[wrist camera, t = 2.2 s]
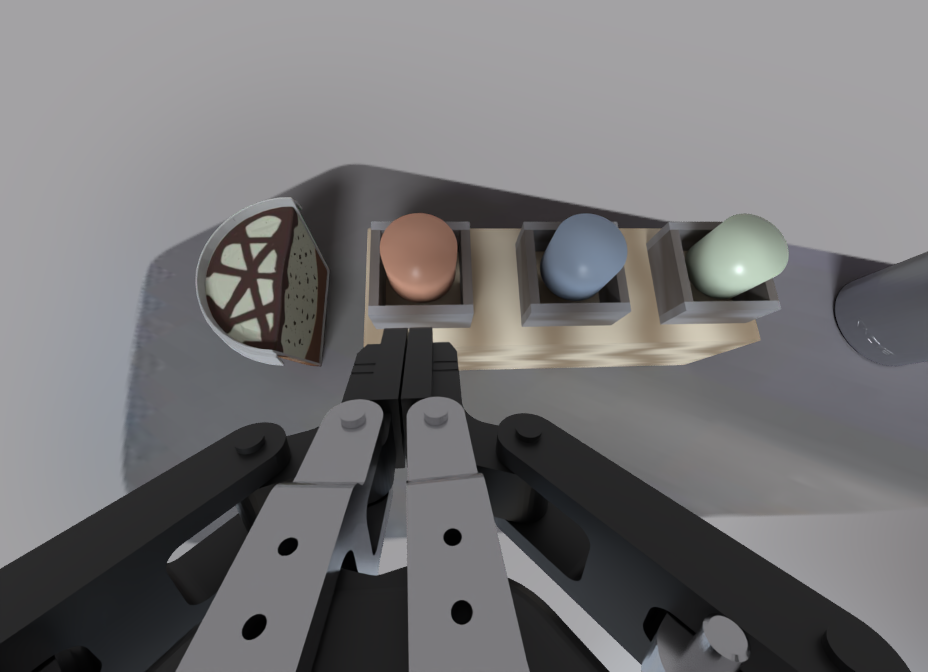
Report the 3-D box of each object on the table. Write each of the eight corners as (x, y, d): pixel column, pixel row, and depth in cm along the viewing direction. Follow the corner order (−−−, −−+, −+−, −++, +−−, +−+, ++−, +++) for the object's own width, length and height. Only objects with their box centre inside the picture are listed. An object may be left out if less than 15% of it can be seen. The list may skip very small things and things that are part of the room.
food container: (265, 254, 37) (203, 188, 27) (331, 255, 37) (292, 190, 27) (247, 383, 33) (169, 359, 24) (319, 383, 34) (271, 359, 24)
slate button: (600, 240, 26) (621, 213, 23) (609, 300, 25) (632, 280, 22) (537, 240, 26) (549, 213, 23) (543, 301, 25) (557, 281, 22)
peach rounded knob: (454, 240, 26) (456, 213, 23) (456, 302, 24) (458, 282, 21) (388, 240, 25) (380, 212, 22) (386, 303, 24) (378, 283, 21)
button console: (667, 276, 38) (764, 205, 27) (684, 364, 36) (798, 328, 25) (385, 279, 37) (359, 203, 25) (383, 371, 34) (353, 336, 23)
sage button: (739, 239, 27) (778, 213, 24) (754, 298, 26) (796, 279, 23) (679, 240, 27) (710, 213, 24) (691, 299, 25) (725, 279, 22)
